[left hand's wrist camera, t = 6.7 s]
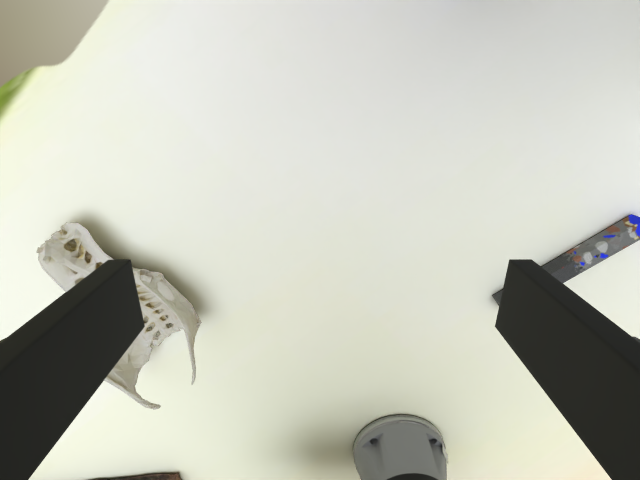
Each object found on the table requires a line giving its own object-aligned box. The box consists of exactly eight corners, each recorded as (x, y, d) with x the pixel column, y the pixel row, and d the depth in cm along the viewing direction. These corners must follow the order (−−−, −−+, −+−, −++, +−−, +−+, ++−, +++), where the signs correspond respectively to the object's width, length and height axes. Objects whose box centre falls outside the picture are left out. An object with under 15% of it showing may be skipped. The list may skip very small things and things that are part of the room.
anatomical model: (135, 423, 48) (-35, 293, 39) (161, 372, 56) (26, 257, 48) (220, 370, 44) (54, 217, 36) (234, 325, 53) (103, 193, 45)
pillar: (499, 303, 48) (648, 218, 44) (492, 295, 50) (634, 212, 46) (506, 314, 49) (654, 231, 44) (499, 306, 51) (639, 225, 46)
